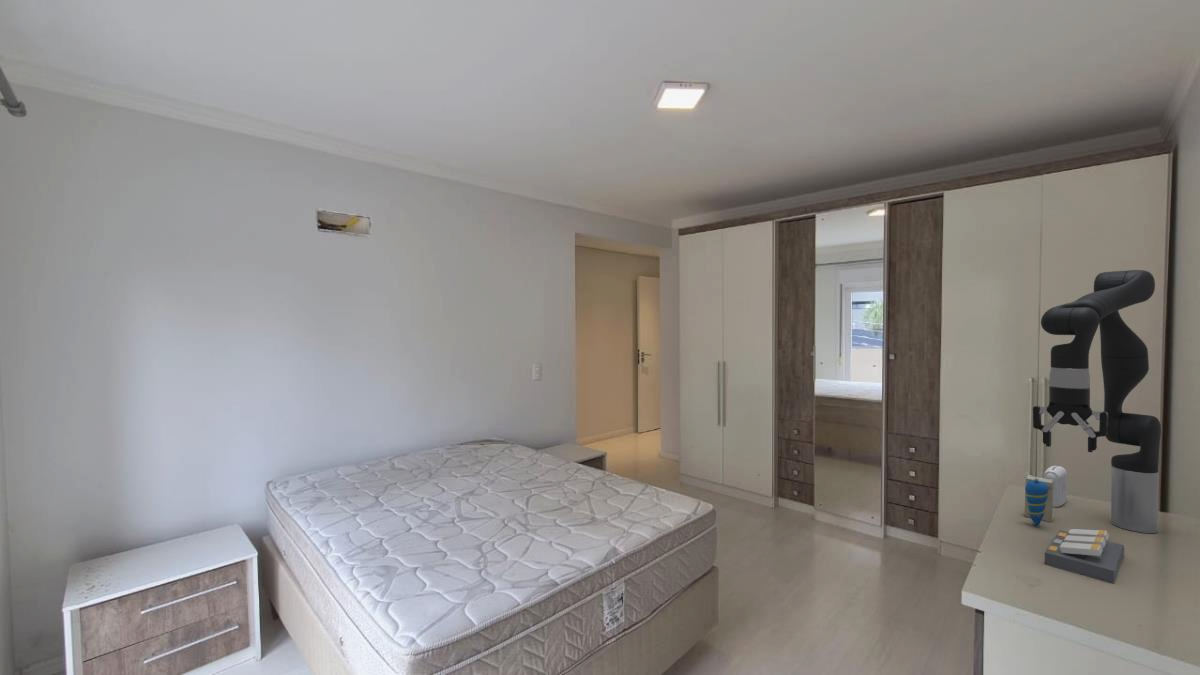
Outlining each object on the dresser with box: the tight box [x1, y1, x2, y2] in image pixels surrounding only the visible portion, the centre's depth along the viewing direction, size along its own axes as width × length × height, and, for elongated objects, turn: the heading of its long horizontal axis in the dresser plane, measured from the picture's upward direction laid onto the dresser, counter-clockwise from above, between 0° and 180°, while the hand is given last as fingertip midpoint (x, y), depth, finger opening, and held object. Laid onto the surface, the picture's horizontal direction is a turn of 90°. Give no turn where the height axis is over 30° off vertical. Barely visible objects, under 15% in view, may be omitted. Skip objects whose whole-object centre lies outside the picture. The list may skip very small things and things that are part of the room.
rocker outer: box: [1060, 542, 1103, 556], centre depth 119 cm, size 4×7×2 cm, turn 38°
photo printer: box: [1043, 465, 1068, 508], centre depth 160 cm, size 10×4×12 cm, turn 123°
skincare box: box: [1024, 475, 1054, 523], centre depth 149 cm, size 6×4×12 cm
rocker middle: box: [1064, 535, 1106, 548], centre depth 122 cm, size 4×7×2 cm, turn 38°
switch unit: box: [1044, 529, 1125, 584], centre depth 123 cm, size 20×12×4 cm, turn 128°
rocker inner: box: [1068, 528, 1110, 541], centre depth 126 cm, size 4×7×2 cm, turn 38°
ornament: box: [1024, 476, 1049, 528], centre depth 142 cm, size 5×5×15 cm
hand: (1068, 448), depth 124 cm, fingers open, 7 cm apart
